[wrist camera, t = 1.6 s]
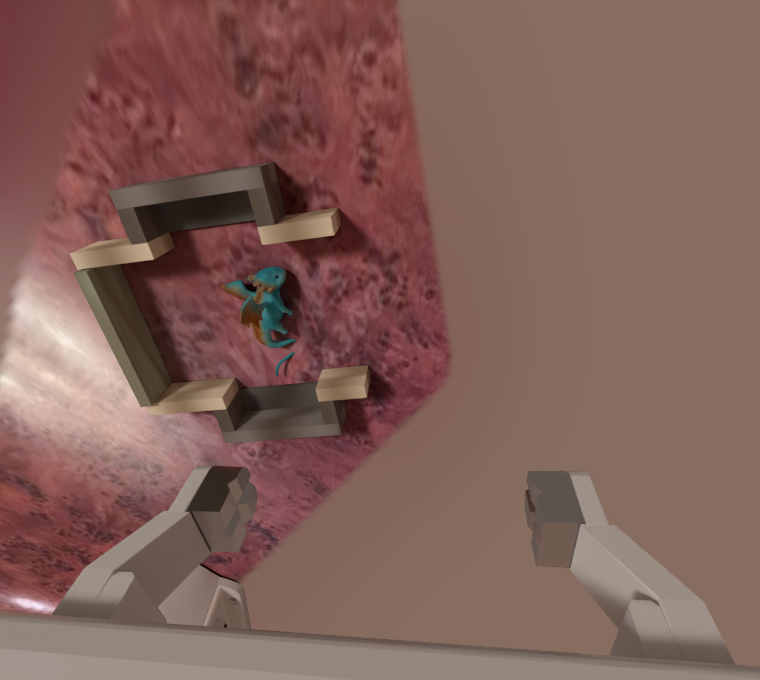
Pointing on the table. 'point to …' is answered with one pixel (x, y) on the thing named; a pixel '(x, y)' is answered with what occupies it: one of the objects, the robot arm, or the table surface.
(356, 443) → the table surface
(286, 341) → the dragon figurine
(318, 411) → the channel
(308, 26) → the table surface
